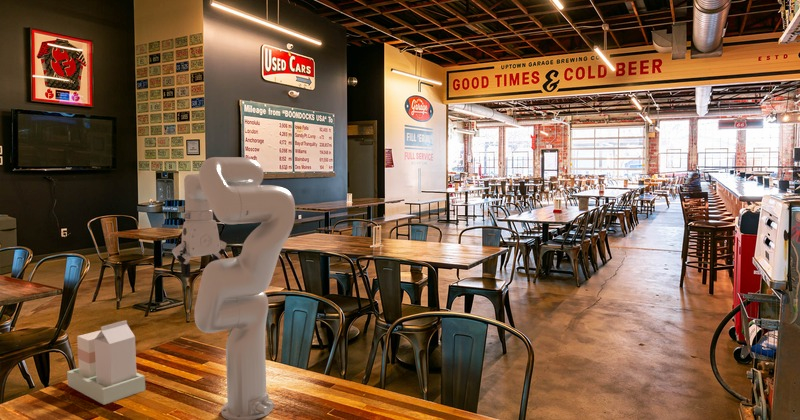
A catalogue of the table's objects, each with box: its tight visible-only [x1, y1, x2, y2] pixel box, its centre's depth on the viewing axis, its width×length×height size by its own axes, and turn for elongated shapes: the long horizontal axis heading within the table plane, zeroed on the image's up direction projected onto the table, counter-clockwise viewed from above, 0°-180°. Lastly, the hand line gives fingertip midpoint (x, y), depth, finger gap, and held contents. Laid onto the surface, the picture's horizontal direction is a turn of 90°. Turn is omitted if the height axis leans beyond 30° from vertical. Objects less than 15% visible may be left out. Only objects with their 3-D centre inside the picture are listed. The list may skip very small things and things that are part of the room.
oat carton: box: [76, 330, 101, 379], centre depth 151 cm, size 7×7×14 cm
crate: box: [66, 367, 146, 406], centre depth 148 cm, size 21×11×5 cm, turn 54°
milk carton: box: [94, 319, 137, 387], centre depth 145 cm, size 7×7×19 cm
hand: (201, 274), depth 158 cm, fingers open, 9 cm apart
